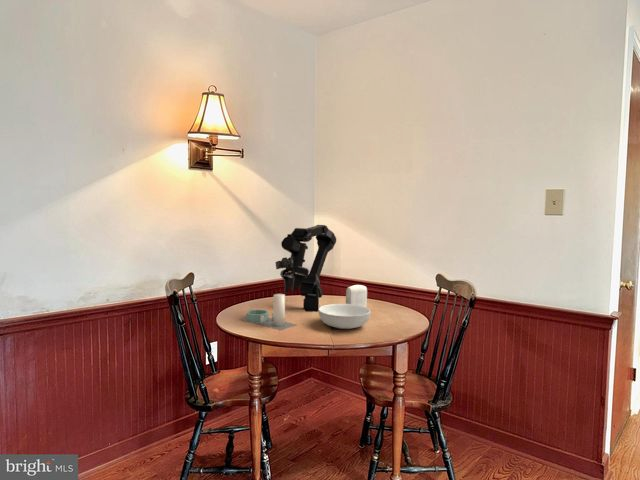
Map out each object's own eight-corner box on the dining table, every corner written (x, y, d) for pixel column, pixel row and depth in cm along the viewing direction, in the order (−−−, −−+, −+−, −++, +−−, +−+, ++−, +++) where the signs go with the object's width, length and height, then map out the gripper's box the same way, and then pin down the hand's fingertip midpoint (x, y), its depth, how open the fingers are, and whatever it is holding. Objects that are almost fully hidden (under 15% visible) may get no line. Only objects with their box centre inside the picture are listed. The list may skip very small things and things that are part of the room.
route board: (297, 326, 176) (297, 317, 175) (280, 331, 168) (280, 322, 167) (257, 315, 190) (257, 307, 189) (239, 320, 182) (239, 312, 182)
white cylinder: (284, 323, 177) (285, 293, 176) (284, 326, 173) (284, 296, 172) (273, 323, 177) (273, 293, 176) (272, 326, 173) (273, 296, 172)
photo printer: (361, 309, 205) (362, 283, 204) (367, 311, 201) (368, 284, 200) (344, 312, 199) (344, 285, 198) (349, 314, 195) (350, 286, 194)
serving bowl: (380, 329, 174) (381, 312, 173) (335, 336, 164) (335, 318, 163) (351, 316, 192) (351, 301, 191) (308, 322, 182) (309, 306, 181)
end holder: (268, 316, 187) (268, 309, 187) (267, 322, 178) (267, 314, 178) (248, 316, 186) (248, 309, 186) (246, 322, 178) (246, 314, 178)
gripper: (272, 254, 194) (265, 289, 190) (287, 248, 177) (279, 286, 173) (296, 260, 198) (289, 295, 194) (312, 255, 181) (305, 293, 177)
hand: (290, 292), depth 184 cm, fingers open, 9 cm apart
